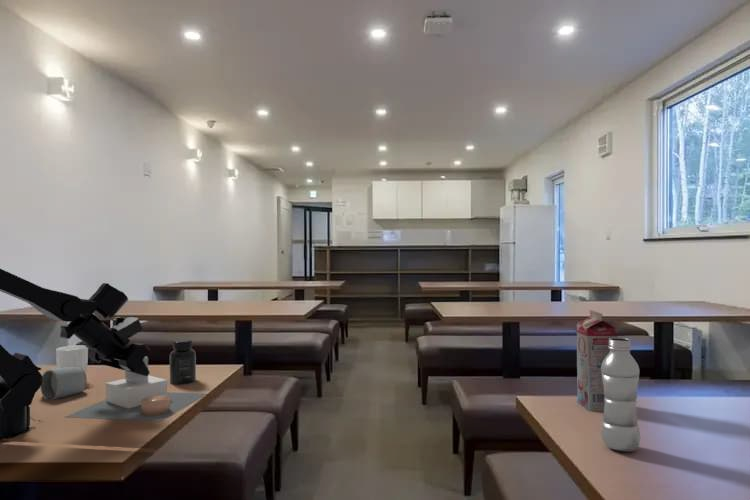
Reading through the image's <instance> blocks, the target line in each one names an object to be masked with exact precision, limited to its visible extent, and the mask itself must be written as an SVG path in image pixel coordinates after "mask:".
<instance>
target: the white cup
mask: <svg viewBox="0 0 750 500" xmlns="http://www.w3.org/2000/svg"><path fill="white" fill-rule="evenodd" d="M55 355H56V356H55V358H56V359H55V360H56V369H59V368H67V367H80V368H82V369H83V370H84V372H85V374H86V375H87V372H88V364H89V363H88V360H89V359H88V358H89V349H88V348H87V347H86V344H85V345H83V344H77V345H66V346H59V347H57V348H56V349H55Z"/></svg>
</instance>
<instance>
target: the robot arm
mask: <svg viewBox="0 0 750 500" xmlns="http://www.w3.org/2000/svg"><path fill="white" fill-rule="evenodd" d="M0 292H1V293H4V294H6V295H8V296H10V297H13V298H15V299H17V300H21V301H23V302H25V303H27V304H29V305H30V306H32V308H34V309H35V310H36V311H38V312H39V313H41V314H42V315H44V316H45V317H47V318H49V319H50V320H55V321H60V322H61V321H62V322H67V323H68V324H67V325H66V324H65V325H60V328H59V329H60V336H59V338H63V339H66V340H67V339H68V340H69V339H71V338H72V337H73V336H75V337H76V338H77V339H79V340H80V341H81V342H82V343H83V344H85V345H86V347H87V348H88V358H89V359H90V360H91V361H92V362H93V363H96V364H100V363H101V364H102V365H103V366H107V367H111V368H114V369H116V370H117V369H118V370H122V371H125V370H126V371H130V372H133V373H137V374H141V375H144V376H148V375H150V370H149V367H148V368H147V367H146V365H145V363H144V361H143V359H144V358H145V357H147V355H148V354H149V353H150V351H151V348H150V347H149V346H147V345H146V344H145V343H141V342H135V343H134V342H133V343H131V344H130V345H129V346H126V345H128V344H129V343H130V342H131V339H130V338H132V337H134V336H135V335H137V334H138V333H141V332H143V330H144V327H143V326H142V322H141V321H140V319H139V318H138V317H133V316H131V317H130V316H129V317H125V318H123V317H122V316H116V317H115V315H117V313H118V312H119V311H120V310H121V308H123V307H124V305H125V304H126V303H127V302H128V301H129V297H128V296H127V295H126V294H125V293H124V292H123V291H121V290H119V289H118V288H116V287H114V286H112V285H111V284H109V283H107V282H104V283H103V282H102V284H101V285H100V286H99V287H98V288H97V290H96V291H95V292H94V293H93V294H92V295H91V296H90V297H89V298H88V299H87V298H80V297H79V296H77V295H73V294H69V293H65V292H61V291H58V290H52V289H49V288H45V287H42V286H40V285H37V284H36V283H33V282H31V281H28V280H27V279H24V278H22V277H20V276H18V275H15V274H13V273H11V272H9V271H6V270H4V269H2V268H0ZM113 317H115V318H113ZM112 318H113V319H112ZM106 319H109V320H110V319H112V326H111V327H109V325H108V326H107V324H105V323H104V322H103V321H102V320H106ZM101 360H102V361H101ZM41 370H42V368H41V367H40V366H38V365H36V364H35V363H34V362H33V360H32V359H31V357H29V356H28V355H26V354H22V353H19V352H14V353H13V354H11V353H9V351H8V350H7V349H6V348H5V347H4V346H3V345H1V344H0V441H4V442H5V441H8V440H10V439H13V438H16V437H18V436H21V435H22V434H24V433H27V432H30V431H32V430H34V429H36V426H31V407H30V406H31V405H32V404H33V403H32V402H33V400H34V397H35V395H36V393H37V392H38V390H40V389H41V384H42V379H43V377H42V375H43V374H41V372H40V371H41Z"/></svg>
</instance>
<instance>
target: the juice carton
mask: <svg viewBox="0 0 750 500" xmlns="http://www.w3.org/2000/svg"><path fill="white" fill-rule="evenodd" d="M609 338H618V328H617V327H616V326H614V325H612V324H610V323H609V322H606V321H605V320H604V319H603V313H601V312H597V311H594V310H591V309H590V310H589V317H587V318H585V319H583V320H582V321H579V322H578V323H577V324H576V370H577V371H576V373H577V374H576V376H577V377H576V378H577V379H576V380H577V381H576V384H577V385H576V386H577V388H576V389H577V391H576V392H577V398H576V399H577V401H576V402H577V403H578V404H579V405H580V406H582V407H583V408H584V409H586V410H587V411H589V412H602V411H603V412H604V405H605V401H604V397H605V396H604V386H603V379H602V372H601V365H602V362H603V360H604V359H605V357H606V356H607V355H608V354H609V352H610V349H608V346H609Z"/></svg>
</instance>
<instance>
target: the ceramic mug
mask: <svg viewBox="0 0 750 500" xmlns="http://www.w3.org/2000/svg"><path fill="white" fill-rule="evenodd" d="M41 375H42V377H43V379H42V384H41V386H40V392H41V394H42V397H43V398H44V400H48V399H51V398H52V400H57V399H60V398H61V399H62V398H66V397H69V396H72V395H76V394H80V393H82V392H83V391H84V390H85V389H86V387H87V380H88V378H87V373H86V374H85V372H84V370H83V369H82V368H80V367H67V368H59V369H57V368H52V369H48V370H46V371H44V372H43V374H41Z"/></svg>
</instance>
